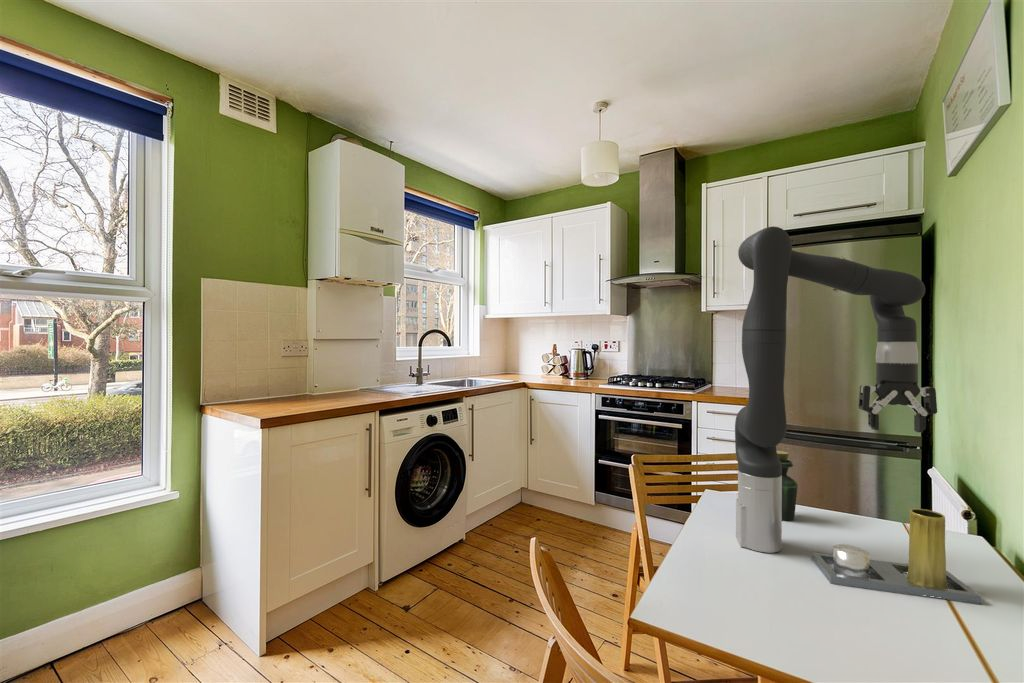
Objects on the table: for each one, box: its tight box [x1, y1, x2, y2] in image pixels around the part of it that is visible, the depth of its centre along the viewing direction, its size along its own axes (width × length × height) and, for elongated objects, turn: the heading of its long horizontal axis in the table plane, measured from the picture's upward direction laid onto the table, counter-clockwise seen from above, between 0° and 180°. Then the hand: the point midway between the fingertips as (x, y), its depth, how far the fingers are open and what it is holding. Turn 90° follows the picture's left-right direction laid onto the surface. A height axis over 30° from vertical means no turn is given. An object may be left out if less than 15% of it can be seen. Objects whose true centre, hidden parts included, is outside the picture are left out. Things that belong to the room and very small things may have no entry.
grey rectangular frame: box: [810, 543, 982, 605], centre depth 92 cm, size 24×11×5 cm, turn 73°
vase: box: [906, 508, 949, 589], centre depth 90 cm, size 6×6×14 cm
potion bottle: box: [776, 450, 799, 522], centre depth 126 cm, size 8×8×18 cm
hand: (896, 430), depth 105 cm, fingers open, 8 cm apart
